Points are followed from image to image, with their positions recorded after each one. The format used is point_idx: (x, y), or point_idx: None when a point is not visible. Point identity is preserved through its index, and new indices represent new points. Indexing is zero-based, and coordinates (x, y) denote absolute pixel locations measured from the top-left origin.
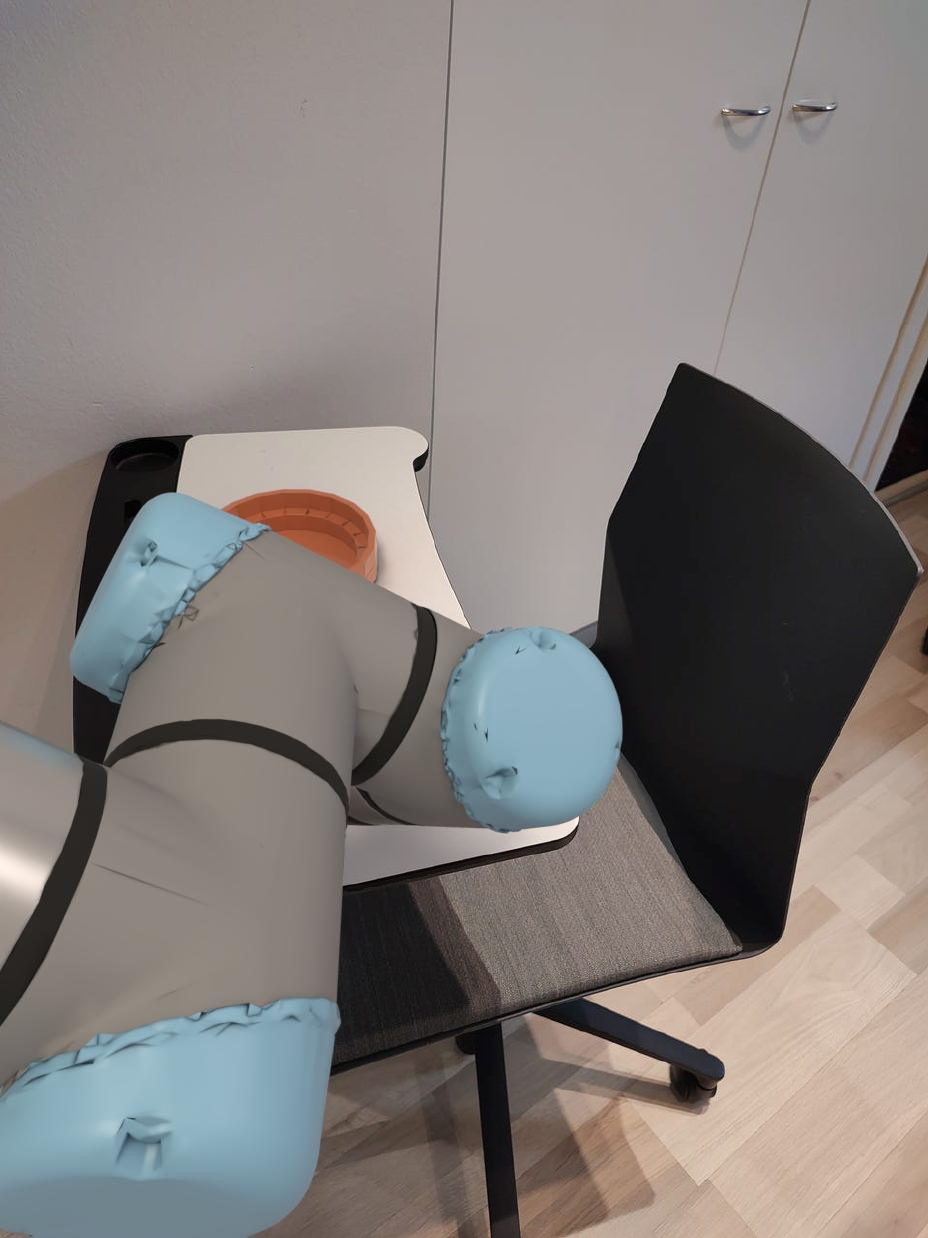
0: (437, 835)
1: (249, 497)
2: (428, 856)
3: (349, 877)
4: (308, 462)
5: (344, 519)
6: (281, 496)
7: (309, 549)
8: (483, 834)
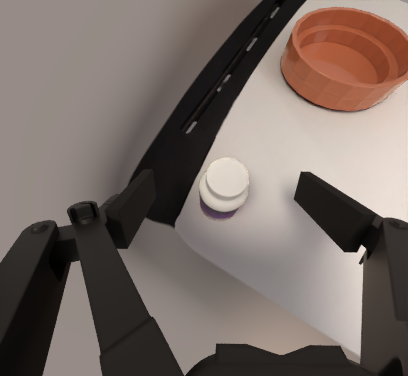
0: (304, 295)
1: (348, 8)
2: (289, 304)
3: (237, 276)
4: (383, 16)
5: (391, 53)
6: (366, 18)
7: (352, 63)
8: (333, 322)
